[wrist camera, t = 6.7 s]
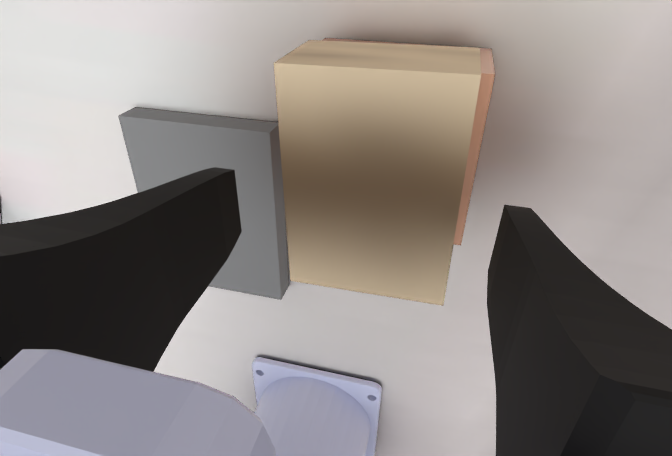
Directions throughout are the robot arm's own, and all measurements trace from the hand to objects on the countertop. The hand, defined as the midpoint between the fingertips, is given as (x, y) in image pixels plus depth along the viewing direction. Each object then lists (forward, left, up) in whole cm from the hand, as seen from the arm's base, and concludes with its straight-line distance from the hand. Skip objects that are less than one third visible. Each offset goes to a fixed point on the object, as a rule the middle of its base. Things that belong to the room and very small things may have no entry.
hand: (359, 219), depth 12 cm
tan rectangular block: (0, 0, -4) cm, 4 cm away
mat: (-5, +8, -7) cm, 12 cm away
